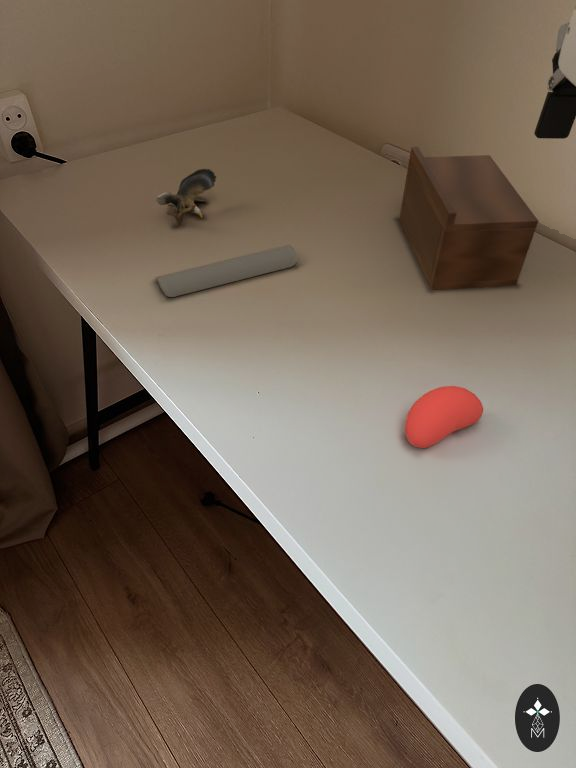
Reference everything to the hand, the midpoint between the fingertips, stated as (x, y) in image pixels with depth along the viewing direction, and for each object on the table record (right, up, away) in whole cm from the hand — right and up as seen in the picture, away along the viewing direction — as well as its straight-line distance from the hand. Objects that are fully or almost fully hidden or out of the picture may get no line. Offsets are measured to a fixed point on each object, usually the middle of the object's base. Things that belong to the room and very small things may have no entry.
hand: (572, 161), depth 56 cm
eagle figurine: (-40, +6, +42) cm, 58 cm away
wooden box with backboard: (-1, 0, +37) cm, 37 cm away
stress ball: (-9, -24, +13) cm, 29 cm away
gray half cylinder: (-33, -5, +31) cm, 46 cm away
